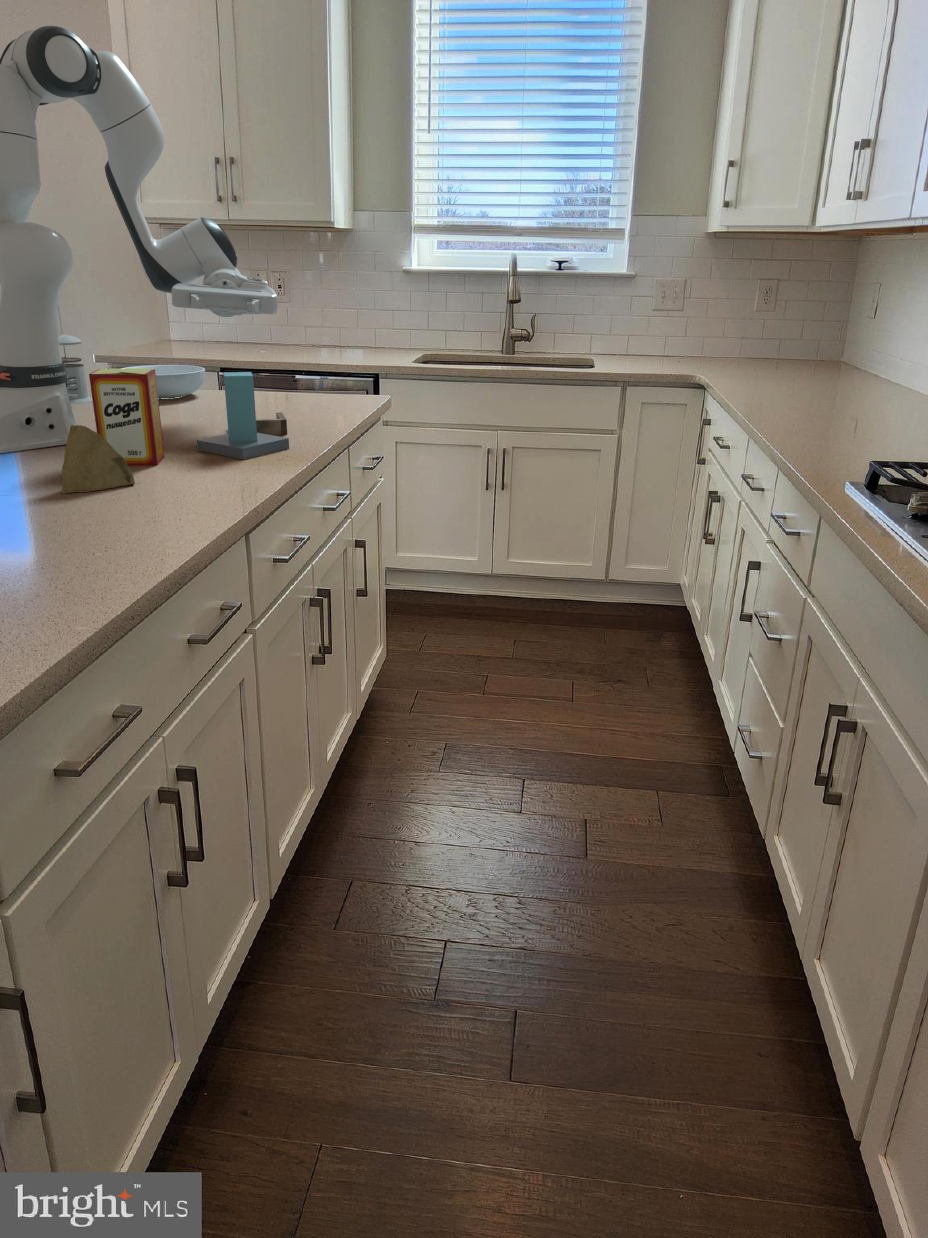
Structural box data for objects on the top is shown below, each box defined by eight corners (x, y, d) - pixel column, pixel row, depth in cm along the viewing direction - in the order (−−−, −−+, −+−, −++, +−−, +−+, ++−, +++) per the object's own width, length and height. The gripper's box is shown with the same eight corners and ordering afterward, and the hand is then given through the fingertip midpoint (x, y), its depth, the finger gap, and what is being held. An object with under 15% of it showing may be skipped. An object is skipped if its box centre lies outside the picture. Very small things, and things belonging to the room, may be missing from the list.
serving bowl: (219, 392, 235) (216, 364, 233) (189, 405, 216) (186, 375, 214) (141, 389, 237) (138, 362, 234) (105, 402, 218) (101, 373, 215)
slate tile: (243, 459, 165) (242, 448, 164) (197, 450, 171) (196, 439, 170) (289, 448, 174) (288, 438, 173) (244, 440, 180) (244, 430, 179)
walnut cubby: (235, 436, 184) (234, 421, 183) (232, 428, 191) (231, 413, 190) (287, 434, 187) (286, 419, 185) (282, 426, 194) (281, 412, 193)
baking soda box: (101, 465, 158) (88, 371, 152) (110, 457, 164) (98, 366, 158) (157, 465, 159) (146, 372, 153) (164, 457, 165) (154, 366, 159)
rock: (145, 464, 150) (84, 455, 149) (135, 429, 143) (71, 419, 142) (126, 517, 145) (62, 507, 144) (115, 483, 137) (48, 473, 137)
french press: (78, 404, 214) (62, 292, 204) (34, 402, 216) (16, 290, 206) (101, 398, 223) (87, 290, 213) (59, 395, 225) (43, 288, 215)
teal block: (230, 442, 169) (224, 376, 164) (228, 436, 173) (223, 372, 169) (257, 441, 170) (253, 375, 166) (255, 435, 175) (251, 371, 170)
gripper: (170, 272, 181) (168, 284, 170) (275, 281, 187) (279, 293, 175) (172, 305, 184) (169, 319, 173) (274, 313, 190) (278, 327, 178)
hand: (225, 306), depth 174 cm, fingers open, 8 cm apart
